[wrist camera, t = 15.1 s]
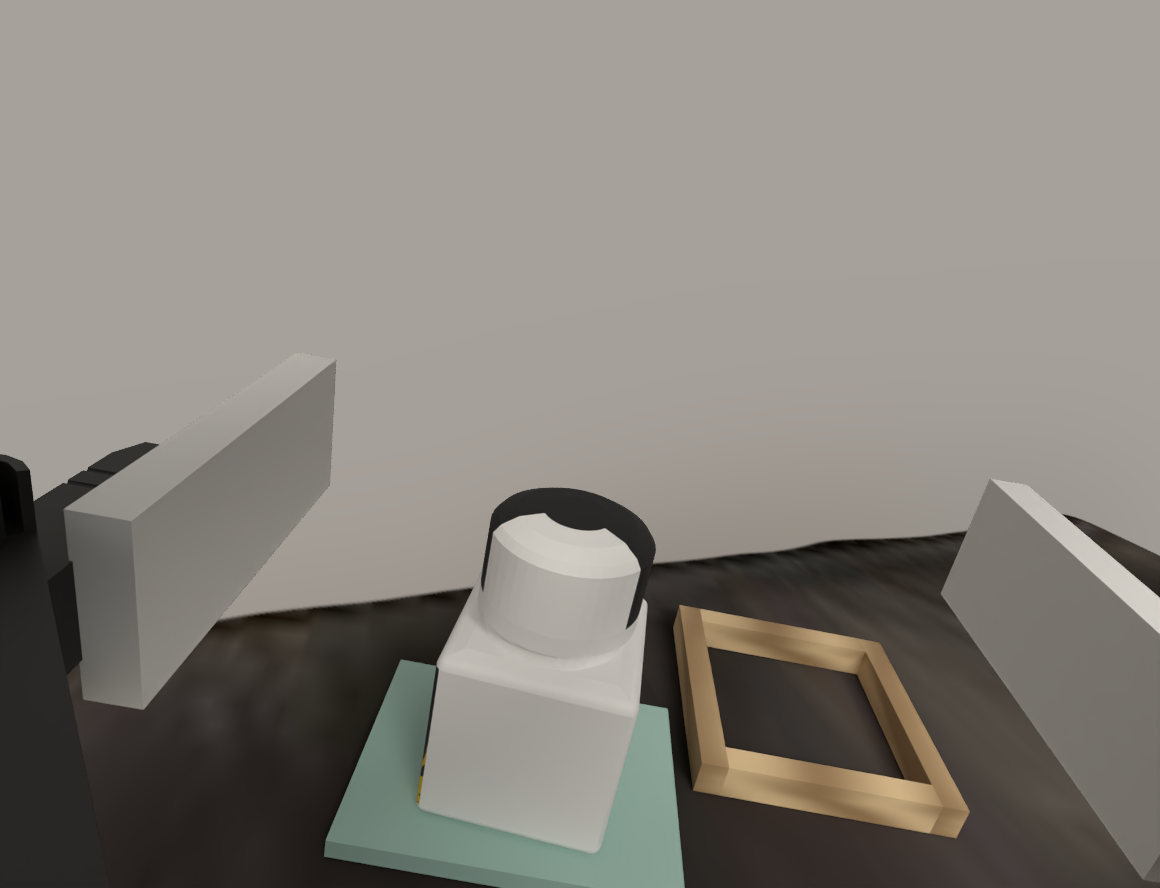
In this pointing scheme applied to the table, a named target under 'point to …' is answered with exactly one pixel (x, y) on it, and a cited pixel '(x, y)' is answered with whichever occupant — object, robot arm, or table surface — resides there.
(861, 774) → the oak cradle
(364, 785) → the rubber mat
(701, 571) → the table surface
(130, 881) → the table surface
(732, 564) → the table surface
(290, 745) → the table surface
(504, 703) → the medicine bottle
